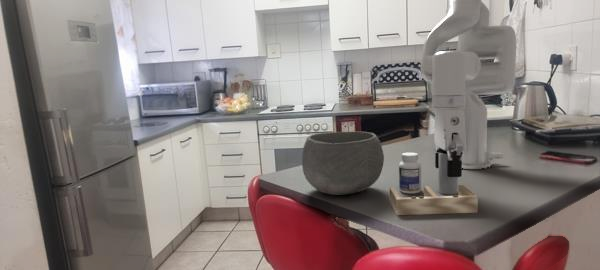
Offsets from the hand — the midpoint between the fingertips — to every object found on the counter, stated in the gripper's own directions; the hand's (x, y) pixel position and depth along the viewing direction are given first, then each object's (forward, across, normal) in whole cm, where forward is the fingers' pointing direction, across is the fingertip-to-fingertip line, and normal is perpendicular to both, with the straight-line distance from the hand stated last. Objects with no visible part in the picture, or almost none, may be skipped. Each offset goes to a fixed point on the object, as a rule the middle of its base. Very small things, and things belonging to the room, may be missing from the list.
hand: (447, 172), depth 99 cm
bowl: (+6, +4, +26) cm, 27 cm away
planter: (+6, +1, 0) cm, 6 cm away
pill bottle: (+6, +3, +9) cm, 11 cm away
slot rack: (+6, -10, +7) cm, 13 cm away
